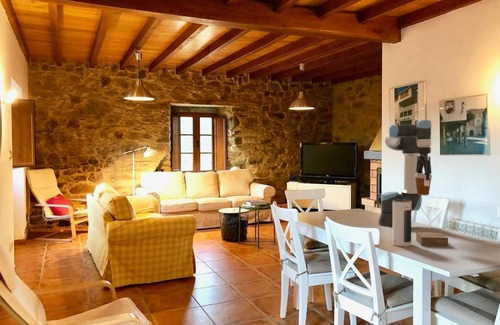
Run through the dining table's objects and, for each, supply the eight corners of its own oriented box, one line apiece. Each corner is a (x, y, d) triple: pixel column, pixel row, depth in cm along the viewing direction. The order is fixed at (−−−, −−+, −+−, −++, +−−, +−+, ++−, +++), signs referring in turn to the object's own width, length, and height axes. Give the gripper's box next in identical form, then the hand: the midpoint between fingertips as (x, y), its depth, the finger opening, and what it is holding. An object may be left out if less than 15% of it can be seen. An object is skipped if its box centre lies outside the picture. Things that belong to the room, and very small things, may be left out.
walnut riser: (416, 240, 247) (416, 232, 247) (440, 240, 245) (440, 232, 244) (421, 246, 233) (421, 237, 233) (448, 246, 231) (448, 238, 231)
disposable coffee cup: (417, 195, 235) (417, 174, 235) (412, 193, 245) (412, 173, 244) (434, 195, 235) (434, 174, 234) (428, 193, 244) (428, 173, 244)
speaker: (399, 247, 230) (399, 201, 229) (388, 243, 240) (388, 198, 239) (415, 246, 233) (415, 200, 232) (403, 241, 243) (404, 198, 242)
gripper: (410, 146, 250) (410, 183, 251) (424, 146, 228) (424, 187, 229) (422, 146, 249) (422, 183, 250) (438, 146, 227) (437, 187, 228)
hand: (423, 185), depth 239 cm, fingers closed on disposable coffee cup, 9 cm apart
